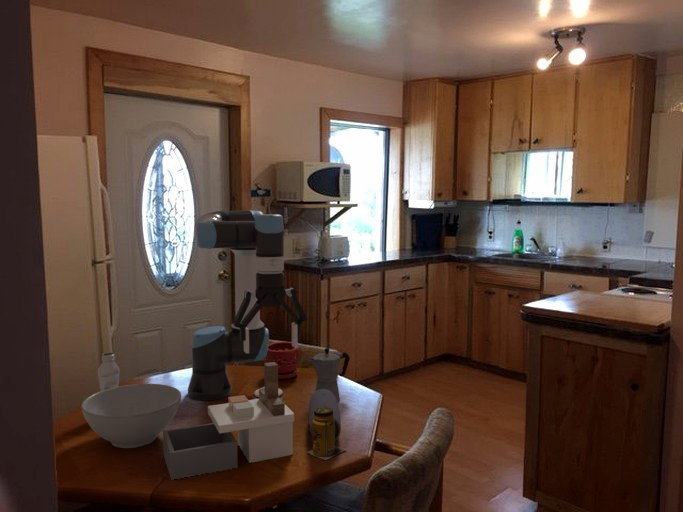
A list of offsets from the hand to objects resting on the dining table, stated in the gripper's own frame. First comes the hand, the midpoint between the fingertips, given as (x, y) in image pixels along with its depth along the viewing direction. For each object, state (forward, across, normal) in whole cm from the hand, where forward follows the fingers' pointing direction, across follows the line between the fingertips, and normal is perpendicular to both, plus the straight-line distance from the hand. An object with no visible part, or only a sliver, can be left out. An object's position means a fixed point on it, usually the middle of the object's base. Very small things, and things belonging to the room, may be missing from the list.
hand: (271, 349), depth 156 cm
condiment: (+28, +13, -8) cm, 32 cm away
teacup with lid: (+28, +6, +22) cm, 36 cm away
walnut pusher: (+16, 0, 0) cm, 16 cm away
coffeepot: (+28, +30, +30) cm, 51 cm away
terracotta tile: (+16, -8, +3) cm, 19 cm away
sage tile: (+16, -8, -2) cm, 18 cm away
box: (+28, -20, 0) cm, 35 cm away
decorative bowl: (+28, -34, +22) cm, 50 cm away
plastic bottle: (+28, -40, +44) cm, 66 cm away
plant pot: (+28, +23, +62) cm, 71 cm away
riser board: (+28, -7, 0) cm, 29 cm away
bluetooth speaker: (+28, +17, +5) cm, 34 cm away
